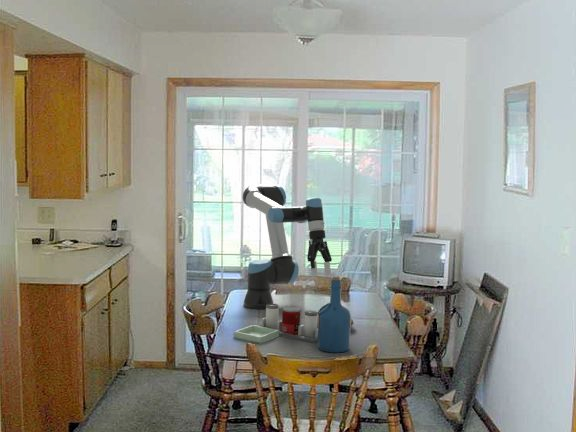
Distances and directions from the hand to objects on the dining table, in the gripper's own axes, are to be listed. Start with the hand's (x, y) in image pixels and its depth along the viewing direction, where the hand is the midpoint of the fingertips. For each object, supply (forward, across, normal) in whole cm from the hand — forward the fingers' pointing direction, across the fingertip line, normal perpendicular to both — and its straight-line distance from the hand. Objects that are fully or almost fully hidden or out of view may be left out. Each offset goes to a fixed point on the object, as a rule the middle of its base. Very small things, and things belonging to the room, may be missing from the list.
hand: (321, 275), depth 321 cm
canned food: (+25, -21, +7) cm, 33 cm away
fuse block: (+25, -21, +7) cm, 33 cm away
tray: (+25, -36, +16) cm, 46 cm away
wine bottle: (+32, -31, -17) cm, 48 cm away
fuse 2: (+27, -22, -2) cm, 35 cm away
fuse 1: (+22, -21, +17) cm, 35 cm away
